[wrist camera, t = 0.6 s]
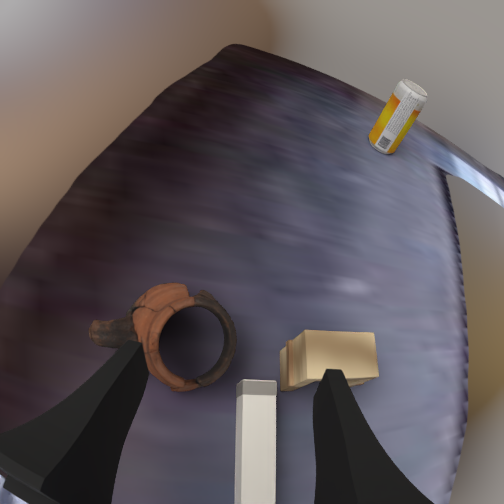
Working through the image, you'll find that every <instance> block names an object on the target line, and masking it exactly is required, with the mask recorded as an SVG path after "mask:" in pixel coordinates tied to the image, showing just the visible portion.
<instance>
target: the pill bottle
mask: <svg viewBox="0 0 504 504" xmlns="http://www.w3.org/2000/svg"><path fill="white" fill-rule="evenodd" d="M427 96H428V94H427V93H426V92H425V91H424V90H423V89H422V88H421V87H419V86H418V85H417V84H415V83H413V82H411V81H409V80H407V79H403V80H402V81H400V82H399V83H398V84H397V86H396V88H395V90H394V92H393V93H392V95H391V97H390V99H389V101H388V102H387V104H386V106H385V108H384V109H383V111H382V113H381V115H380V116H379V118H378V120H377V122H376V123H375V125H374V127H373V129H372V130H371V132H370V134H369V141H370V144H371V145H372V146H373V147H374V148H375V149H376V150H378V151H379V152H381V153H383V154H390V153H394V152H395V150H396V149H397V147H398V146H399V144H400V143H401V141H402V140H403V138H404V137H405V135H406V133H407V132H408V130H409V129H410V127H411V126H412V124H413V123H414V121H415V119H416V118H417V116H418V115H419V113H420V111H421V110H422V108H423V106H424V105H425V104H426V102H427Z"/></svg>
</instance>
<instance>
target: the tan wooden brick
mask: <svg viewBox="0 0 504 504" xmlns="http://www.w3.org/2000/svg"><path fill="white" fill-rule="evenodd" d="M326 369H341V370H342V371H343V373H344V375H345V378H346V380H347V382H348V385H349V387H352V386H355V385H362V384H364V382H366V381H369V380H371V379H374V378H376V377H379V373H378V363H377V354H376V346H375V338H374V333H368V332H339V331H318V330H304V331H303V332H302V333H301V334H300V335H298V336H297V337H296V338H295V339H294V340H288V341H287V342H286V346H285V347H284V348H283V349H282V350H281V351H280V391H293V390H295V389H298V388H300V387H303V386H305V385H307V384H310V383H312V382H314V381H321V380H322V377H323V375H324V373H325V370H326Z"/></svg>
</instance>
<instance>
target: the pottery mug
mask: <svg viewBox="0 0 504 504" xmlns="http://www.w3.org/2000/svg"><path fill="white" fill-rule="evenodd" d="M194 306H196V307H202V308H205V309H207V310H209V311H211V312H212V313H213V314H214V315H215V316H216V317H217V318H218V319H219V321H220V323H221V325H222V327H223V332H224V347H223V351H222V353H221V356H220V358H219V360H218V361H217V363H216V364H215V365H214V367H213V368H212V369H211V370H209V371H208V372H206V373H205V374H203V375H201V376H199V377H197V378H196V379H191V380H185V379H184V378H182V377H180V376H177V375H175V374H173V373H172V372H171V371H169V369H168V368H167V367H166V366H165V364H164V363H163V361H162V358H161V356H160V352H159V338H160V334H161V331H162V329H163V327H164V325H165V323H166V322H167V321H168V319H169V318H170V317H171V316H172V315H174V314H175V313H176V312H178V311H180V310H182V309H184V308H188V307H194ZM89 336H90V338H91V339H92V341H93V342H94V343H95V344H96V345H98V346H102V347H110V348H118V349H119V348H120V347H121V346H122V345H123V344H124V343H125V342H126V341H127V340H132V341H137V342H141V343H142V344H143V349H144V354H145V358H146V362H147V367H148V370H149V371H150V372H151V374H153V375H154V376H155V377H156V378H157V379H159V380H160V381H161V382H162V383H164V384H166V385H168V386H170V388H171V390H172V391H178V392H182V391H190V390H193V389H195V388H199V387H201V386H203V387H206V386H208V385H210V384H212V383H213V382H215V381H216V380H217V379H218V378H220V377H221V376H222V375H223V374H224V373H225V371H226V370H227V369H228V367H229V365H230V363H231V359H232V358H233V356H234V353H235V348H236V342H237V338H236V330H235V327H234V323H233V321H232V320H231V317H230V316H229V314H228V313H227V312H226V310H225V309H224V308H223V307H222V306H221V305H220V304H219V303H218V301H216V300H215V299H214V297H213V296H212V295H211V294H210V293H208V292H207V291H205V290H201V291H200V293H198V294H197V295H195V296H193V297H190V296H189V292H188V289H187V287H186V285H185V284H180V283H165V284H160V285H157V286H155V287H153V288H151V289H149V290H148V291H147V292H146V293H144V294H143V295H142V296H141V297H140V298H139V299H138V300H137V301H136V302H135V303H134V304H133V305H132V306H131V308H130V309H129V311H127V313H126V317H125V318H121V319H116V320H111V321H99V320H94V321H93V323H92V325H91V326H90V328H89Z"/></svg>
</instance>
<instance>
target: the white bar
mask: <svg viewBox="0 0 504 504" xmlns="http://www.w3.org/2000/svg"><path fill="white" fill-rule="evenodd" d="M276 395H277V382H276V381H267V380H246V379H243V380H242V381H241V382H239V383H238V384H237V385H236V398H237V405H236V450H235V504H275V490H276Z"/></svg>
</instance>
